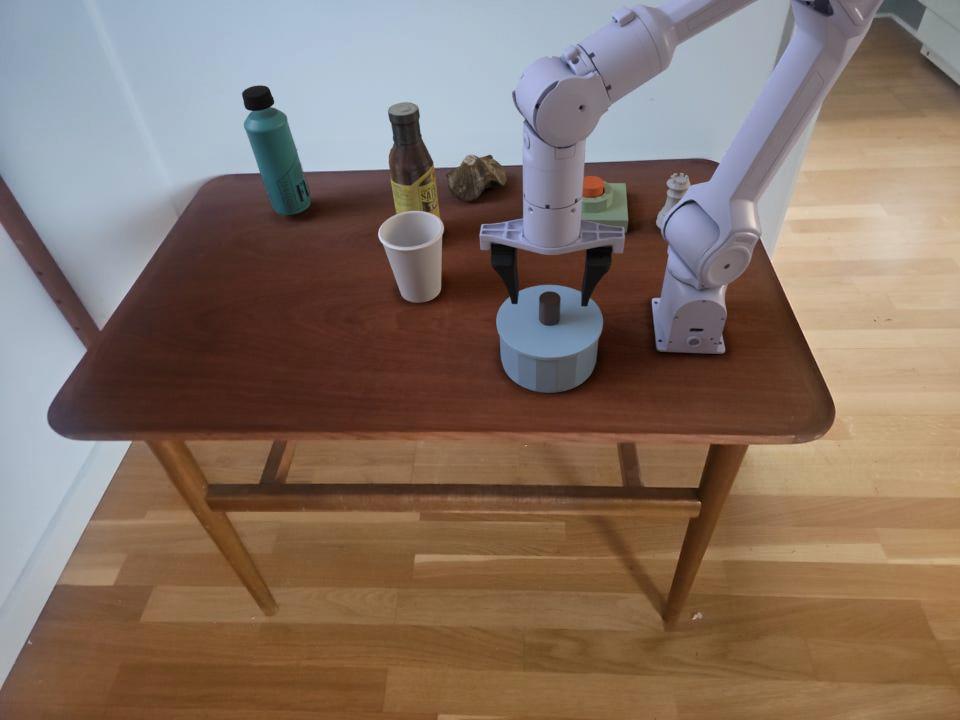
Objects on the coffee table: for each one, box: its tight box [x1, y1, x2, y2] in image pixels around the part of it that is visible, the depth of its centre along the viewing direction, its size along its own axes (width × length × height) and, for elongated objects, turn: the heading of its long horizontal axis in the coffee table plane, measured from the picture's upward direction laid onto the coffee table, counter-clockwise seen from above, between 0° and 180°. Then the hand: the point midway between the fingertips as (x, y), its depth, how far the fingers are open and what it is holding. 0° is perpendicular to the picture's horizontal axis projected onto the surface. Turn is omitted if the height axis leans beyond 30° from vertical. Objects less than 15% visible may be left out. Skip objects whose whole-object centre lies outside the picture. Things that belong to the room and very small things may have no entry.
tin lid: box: [495, 284, 604, 360], centre depth 73 cm, size 12×12×4 cm
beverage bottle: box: [241, 84, 312, 216], centre depth 97 cm, size 6×7×20 cm
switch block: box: [581, 180, 629, 234], centre depth 98 cm, size 10×11×4 cm
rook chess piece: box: [655, 172, 692, 230], centre depth 93 cm, size 4×4×8 cm
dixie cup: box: [377, 211, 445, 304], centre depth 85 cm, size 8×8×10 cm
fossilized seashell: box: [445, 154, 508, 202], centre depth 103 cm, size 8×7×10 cm
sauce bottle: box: [387, 101, 441, 220], centre depth 90 cm, size 6×6×20 cm
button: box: [582, 175, 604, 198], centre depth 96 cm, size 4×4×2 cm
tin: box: [499, 336, 599, 394], centre depth 77 cm, size 11×11×6 cm
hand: (549, 299), depth 72 cm, fingers open, 7 cm apart
